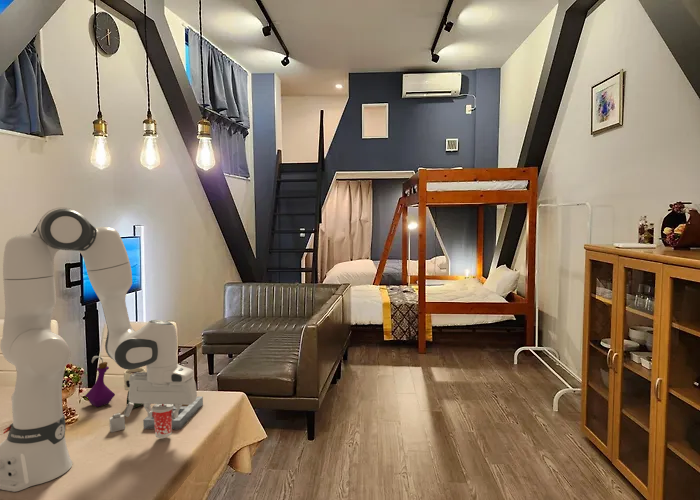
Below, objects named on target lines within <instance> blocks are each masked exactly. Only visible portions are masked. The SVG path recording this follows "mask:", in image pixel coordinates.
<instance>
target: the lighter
mask: <svg viewBox="0 0 700 500" xmlns="http://www.w3.org/2000/svg"><path fill="white" fill-rule="evenodd" d="M133 406H134V404H133V403H131V402H129V403H128V404H127V406H126V407H125V409H124V413H123V414H121V412H117V413H114V414H113V415H112V416H111V417H109V431H110V433H111V434H112V433H115V432H118V431H121V430H125V429H126V421H125V420H126V419H125V418H126V417H127V418H129V417H130V414H131V412H132V410H133V409H134V408H133Z"/></svg>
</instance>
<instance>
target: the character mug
mask: <svg viewBox="0 0 700 500" xmlns="http://www.w3.org/2000/svg"><path fill="white" fill-rule="evenodd" d="M134 372H146V369H145V368H144V367H140V368H136V369H132V370H128V369H125V370H124V371H123V381H124V385H123V386H124V390H125V391H128V392H127V396H126V404H125V405H126V407H127V405H128V403H129V402H130V401H129V399H128V397H129V387H130V384H129V377H130V375H131V374H133V373H134ZM133 404H134V406H133V408H132V409H134V408H138V407H140V406H144V403H133Z"/></svg>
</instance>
